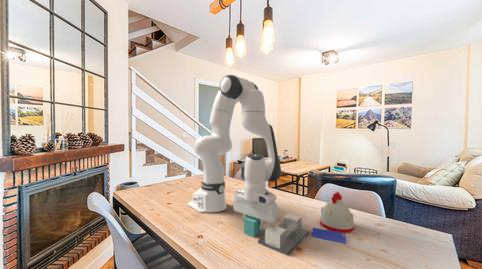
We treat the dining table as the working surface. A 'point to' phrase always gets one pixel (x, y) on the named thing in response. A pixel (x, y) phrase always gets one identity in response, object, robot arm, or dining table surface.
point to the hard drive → (329, 236)
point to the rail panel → (289, 241)
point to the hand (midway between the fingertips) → (253, 226)
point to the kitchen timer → (337, 216)
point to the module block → (252, 226)
